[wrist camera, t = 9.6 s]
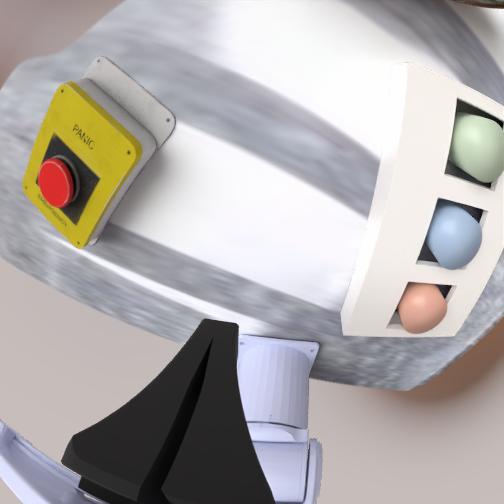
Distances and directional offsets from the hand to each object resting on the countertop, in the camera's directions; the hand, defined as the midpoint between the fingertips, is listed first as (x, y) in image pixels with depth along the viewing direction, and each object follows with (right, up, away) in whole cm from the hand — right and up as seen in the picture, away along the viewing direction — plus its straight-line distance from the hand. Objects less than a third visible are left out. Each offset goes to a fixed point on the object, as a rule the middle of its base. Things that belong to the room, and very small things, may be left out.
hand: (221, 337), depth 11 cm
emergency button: (-12, +11, +8) cm, 18 cm away
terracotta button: (+15, 0, +10) cm, 18 cm away
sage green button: (+15, +11, +2) cm, 19 cm away
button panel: (+15, +6, +6) cm, 18 cm away
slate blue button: (+15, +6, +6) cm, 17 cm away
